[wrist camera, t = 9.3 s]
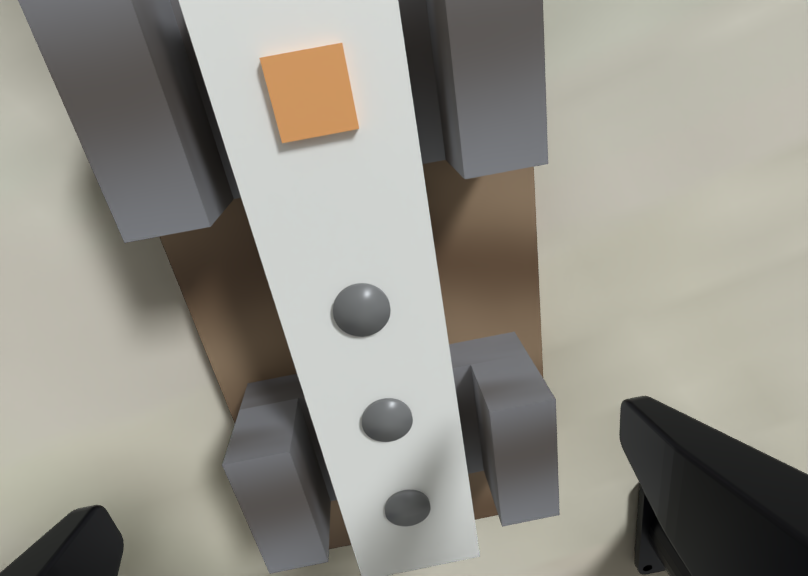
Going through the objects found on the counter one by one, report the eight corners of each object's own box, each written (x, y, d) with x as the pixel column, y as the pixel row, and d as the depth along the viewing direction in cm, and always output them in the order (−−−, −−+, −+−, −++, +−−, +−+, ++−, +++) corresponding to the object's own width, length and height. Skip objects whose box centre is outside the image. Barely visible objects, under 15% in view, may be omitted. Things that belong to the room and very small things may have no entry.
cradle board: (541, 487, 23) (587, 590, 19) (291, 537, 23) (276, 655, 18) (500, -272, 12) (592, -475, 7) (7, -190, 12) (-209, -350, 7)
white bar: (461, 485, 19) (481, 563, 16) (361, 506, 19) (363, 587, 16) (374, -67, 11) (383, -112, 8) (203, -37, 11) (151, -71, 8)
